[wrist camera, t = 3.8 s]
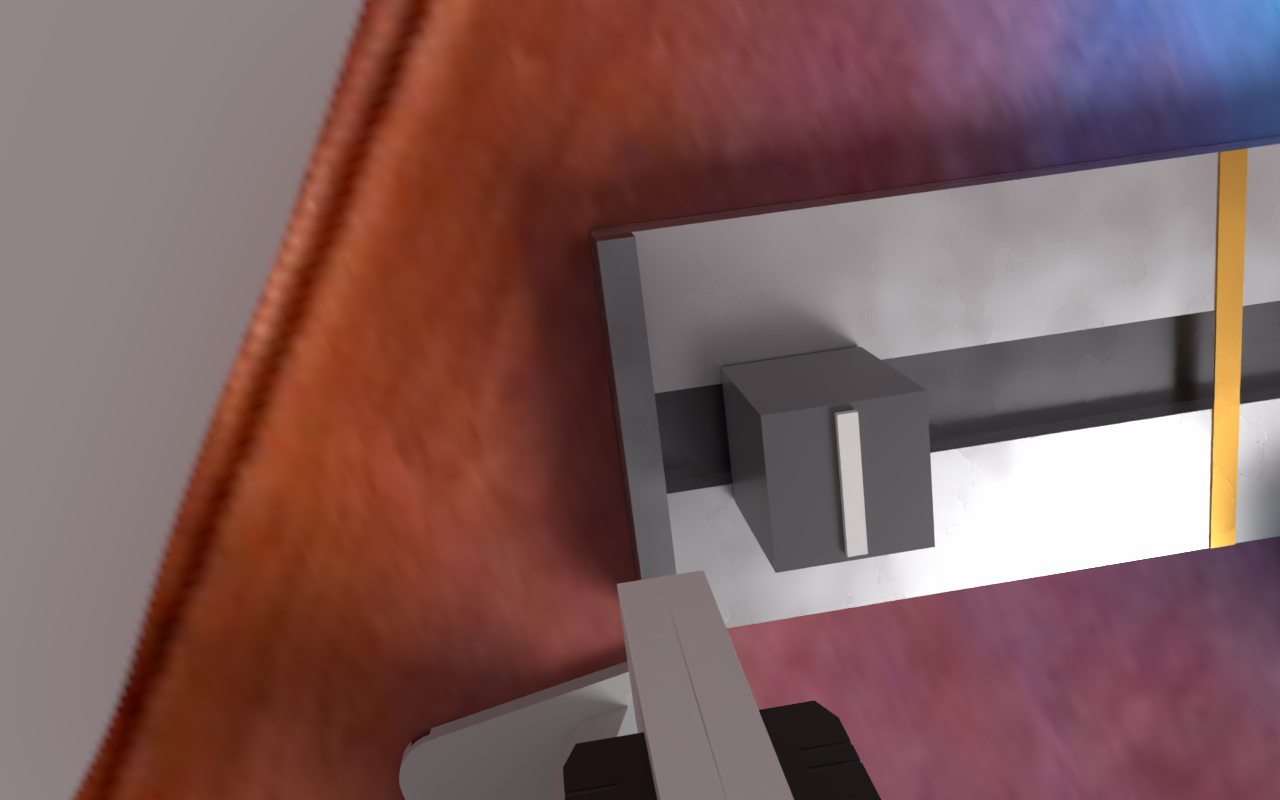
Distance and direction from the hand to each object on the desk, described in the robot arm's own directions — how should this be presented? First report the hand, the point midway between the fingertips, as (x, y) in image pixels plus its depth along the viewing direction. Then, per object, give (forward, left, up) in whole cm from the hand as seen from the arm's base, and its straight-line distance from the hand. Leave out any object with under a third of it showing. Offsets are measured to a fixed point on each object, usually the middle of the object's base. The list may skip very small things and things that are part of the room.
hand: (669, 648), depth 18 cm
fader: (+5, 0, -13) cm, 14 cm away
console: (+12, 0, -14) cm, 19 cm away
